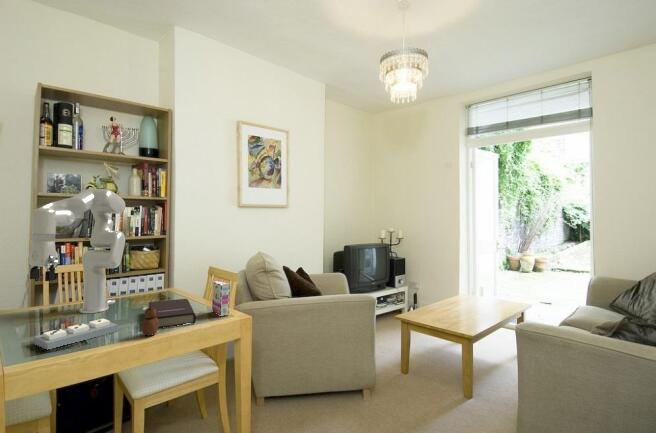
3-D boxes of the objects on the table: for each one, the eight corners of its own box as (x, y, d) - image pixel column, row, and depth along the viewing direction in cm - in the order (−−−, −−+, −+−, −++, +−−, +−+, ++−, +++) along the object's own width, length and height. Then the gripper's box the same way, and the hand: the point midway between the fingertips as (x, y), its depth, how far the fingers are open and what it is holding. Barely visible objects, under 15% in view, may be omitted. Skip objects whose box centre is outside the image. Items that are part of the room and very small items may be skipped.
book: (196, 324, 158) (196, 312, 158) (149, 330, 149) (149, 317, 149) (188, 309, 183) (189, 298, 183) (148, 313, 173) (148, 302, 173)
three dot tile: (60, 336, 135) (60, 328, 135) (66, 339, 132) (66, 330, 132) (43, 340, 130) (43, 332, 130) (49, 343, 127) (49, 335, 127)
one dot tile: (103, 325, 149) (103, 317, 149) (109, 327, 146) (109, 320, 146) (89, 328, 144) (89, 321, 144) (95, 331, 141) (95, 323, 141)
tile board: (103, 326, 152) (103, 319, 152) (117, 331, 146) (117, 324, 146) (34, 344, 130) (34, 336, 130) (47, 351, 124) (47, 343, 124)
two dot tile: (82, 330, 142) (82, 322, 142) (89, 333, 139) (89, 325, 139) (67, 334, 137) (67, 326, 137) (73, 337, 134) (73, 329, 134)
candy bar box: (229, 315, 172) (230, 284, 172) (220, 317, 169) (220, 285, 168) (220, 310, 180) (221, 280, 180) (211, 312, 177) (212, 281, 177)
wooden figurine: (146, 332, 146) (147, 298, 146) (160, 332, 147) (161, 298, 146) (139, 338, 139) (140, 302, 139) (153, 337, 140) (154, 302, 140)
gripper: (19, 237, 137) (18, 279, 137) (46, 239, 131) (45, 283, 131) (40, 237, 144) (39, 276, 144) (67, 238, 138) (65, 280, 138)
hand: (42, 279), depth 138 cm, fingers open, 9 cm apart
